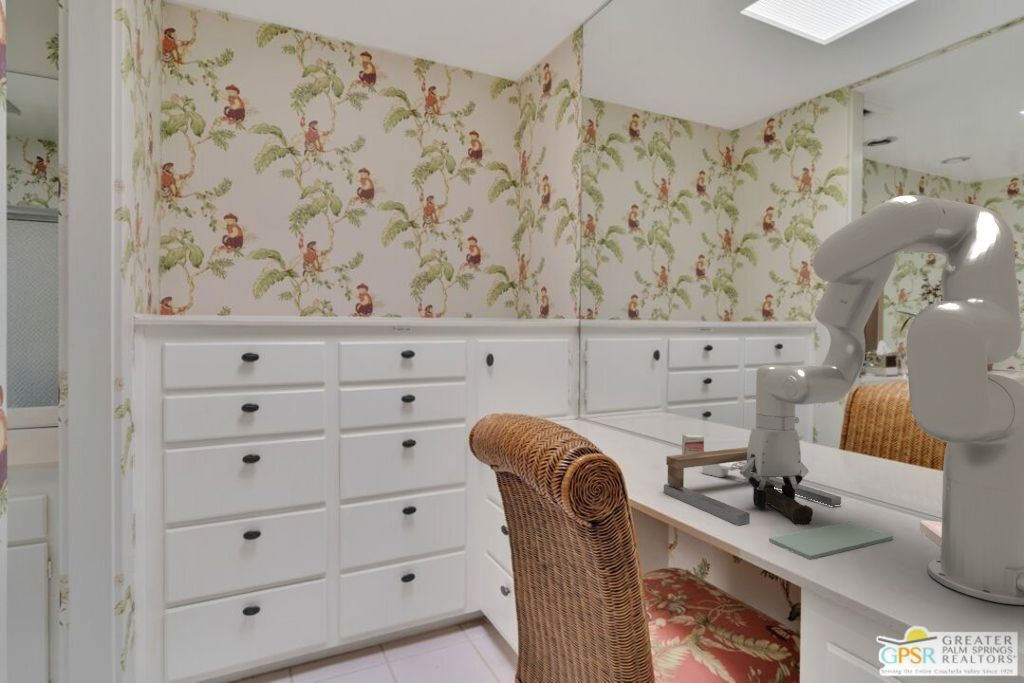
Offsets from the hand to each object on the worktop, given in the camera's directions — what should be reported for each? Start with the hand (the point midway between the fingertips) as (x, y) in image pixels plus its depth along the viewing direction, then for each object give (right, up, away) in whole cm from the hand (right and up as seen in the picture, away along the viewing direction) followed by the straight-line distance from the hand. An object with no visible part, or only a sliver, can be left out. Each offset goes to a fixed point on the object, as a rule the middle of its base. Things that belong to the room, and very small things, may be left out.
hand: (773, 505), depth 112 cm
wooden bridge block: (-6, +2, +14) cm, 15 cm away
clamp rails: (-3, 0, +6) cm, 7 cm away
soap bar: (+23, -2, -17) cm, 29 cm away
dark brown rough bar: (0, -1, 0) cm, 1 cm away
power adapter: (-1, 0, +24) cm, 24 cm away
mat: (+2, -1, -17) cm, 17 cm away
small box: (-4, 0, +39) cm, 39 cm away
